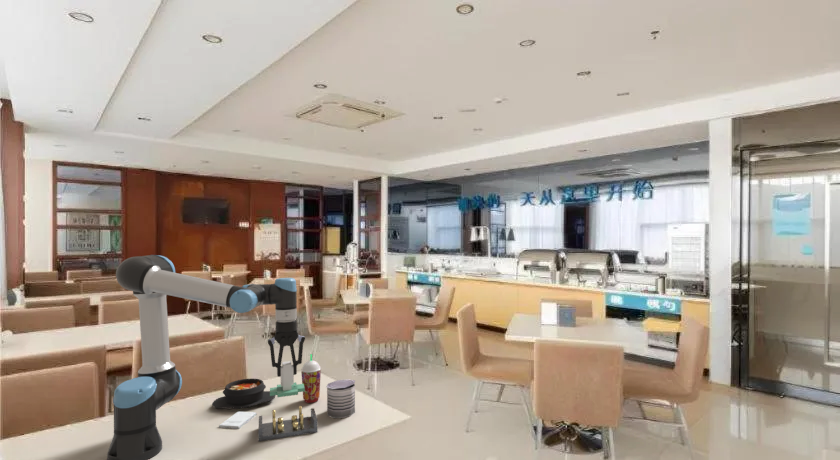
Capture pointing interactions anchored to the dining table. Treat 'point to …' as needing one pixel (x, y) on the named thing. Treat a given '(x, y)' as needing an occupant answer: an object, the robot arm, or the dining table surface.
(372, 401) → the dining table surface
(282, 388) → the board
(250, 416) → the external hard drive
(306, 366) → the smoothie
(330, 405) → the can
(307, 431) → the chassis
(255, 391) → the casserole
